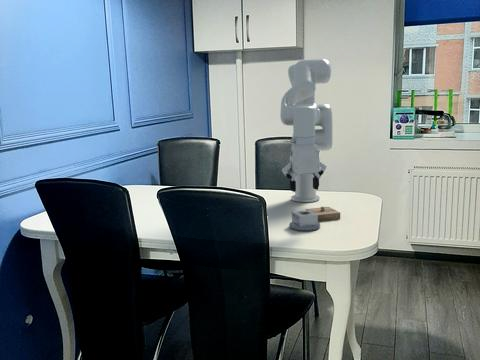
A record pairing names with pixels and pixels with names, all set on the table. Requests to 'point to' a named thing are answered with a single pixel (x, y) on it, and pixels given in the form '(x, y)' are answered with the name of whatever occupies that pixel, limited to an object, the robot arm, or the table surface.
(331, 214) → the stand
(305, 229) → the hub
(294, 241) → the table surface
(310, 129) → the robot arm
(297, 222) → the square hollow frame
